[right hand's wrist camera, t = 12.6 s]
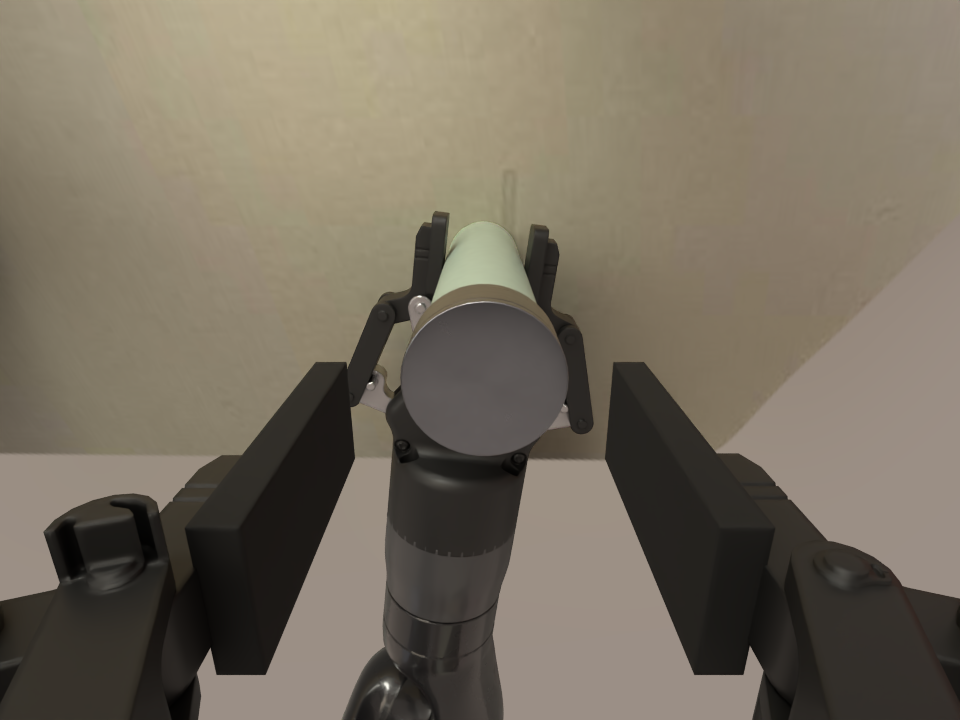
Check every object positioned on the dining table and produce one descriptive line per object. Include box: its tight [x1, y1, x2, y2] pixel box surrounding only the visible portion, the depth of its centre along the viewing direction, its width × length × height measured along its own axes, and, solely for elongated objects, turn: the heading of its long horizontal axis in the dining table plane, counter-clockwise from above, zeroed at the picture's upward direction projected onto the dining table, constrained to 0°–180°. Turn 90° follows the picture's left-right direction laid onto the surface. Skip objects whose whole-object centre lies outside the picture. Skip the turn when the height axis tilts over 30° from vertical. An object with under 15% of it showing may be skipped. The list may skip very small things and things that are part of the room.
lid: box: [400, 284, 569, 456], centre depth 16 cm, size 5×5×2 cm
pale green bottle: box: [431, 221, 537, 304], centre depth 24 cm, size 4×4×19 cm
